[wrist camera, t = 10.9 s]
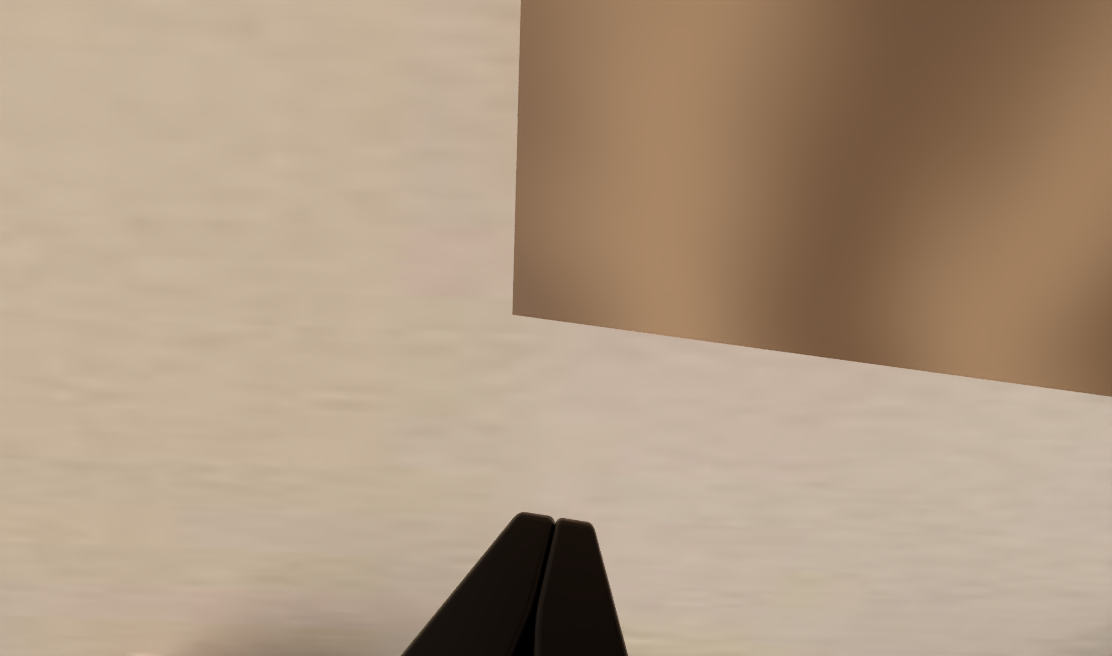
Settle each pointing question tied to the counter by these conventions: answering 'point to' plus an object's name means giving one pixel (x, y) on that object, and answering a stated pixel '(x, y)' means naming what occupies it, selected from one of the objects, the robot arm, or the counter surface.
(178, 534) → the counter surface
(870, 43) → the wooden block
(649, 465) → the counter surface
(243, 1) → the counter surface
